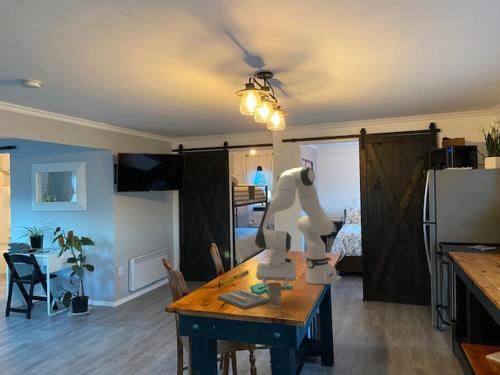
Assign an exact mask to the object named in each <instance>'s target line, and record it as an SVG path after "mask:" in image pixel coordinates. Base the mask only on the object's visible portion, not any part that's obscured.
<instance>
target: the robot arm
mask: <svg viewBox="0 0 500 375" xmlns="http://www.w3.org/2000/svg"><path fill="white" fill-rule="evenodd" d="M315 179H316V176H315V171H314V170H313V169H312V168H311V167H309V166H303V167H295V168H290V169H288V170H283V171H280V172H279V173H278V175H277V183H276V187H275V193H274V196H273V197H272V198H271V199H270V200H268V201H267V203H266V206H265V208H264V211H263V214H262V217H261V219H260V223H259V226H258V229H257V231H256V233H255V236H254V243H255V245H256V246H257V248H259V249H267V250H268V249H269V250H270V255H269V261H268V262H260V263H258V264H257V269H256V274H255V278H256V279H257V280H258V281H262V283H264V287H267V283H268V282H266V281H281V282H283V281H284V282H283V283H282V286H283V288H286V286H288V285H289V283H290V282H295V281H296V280H297V270H296V266H295V260H294V259H292V258H288V257H287V255H288V252H289V251H290V250H291V246H292V245H291V243H292V236H291V234H290V233H289V232H288V231H283V230H275V229H274V230H273V229H268V226H269V224H270V219H271V216H272V215H273V214H275V213H278V212H282V211H283V212H284V211H285V210H288V209H290V208H292V207H293V205H294V204H295V202H296V195H297V197H298V201H299V204H300V208H301V210H302V212H304V214H306V215H304V216H302V217H300V218H299V219H298V222H297V227H298V229H299V231H300V232H301V233H302V235H303V238H304V241H305V245H306V265H307V266H306V272H305V277H304V281H305V282H306V283H308V284H313V285H330V284H333V283H335V282H338V281H339V280H341V279H342V277H341V276H340V275H337V269H336V268H335V267H334V266H332V264H330V263H329V261H332V257H329V256H327V251H326V247H327V246H326V244H325V242H324V241H323V240H322V238H321V236H328V235H331V234H332V233H333V231H334V229H335V224H334V222H333V220H332V219H331V218H330V217H329V216H328V215H327V214H326V213H325V211H324V210H323V208H322V206H321V204H320V203H321V202H320V200H319V196H318V193H317V189H316V186H315V183H314V181H315ZM326 256H327V257H326Z"/></svg>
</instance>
